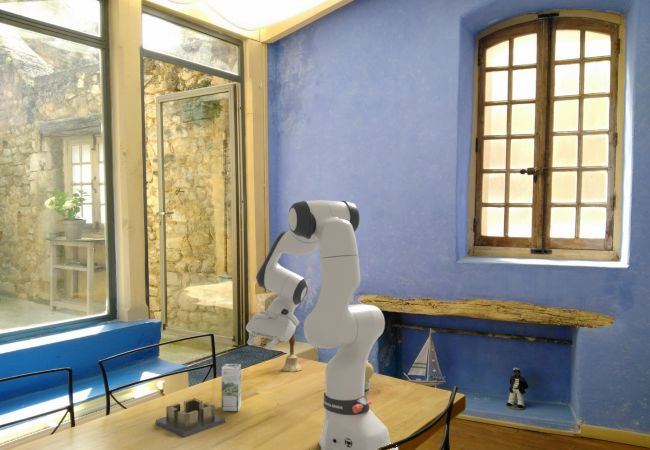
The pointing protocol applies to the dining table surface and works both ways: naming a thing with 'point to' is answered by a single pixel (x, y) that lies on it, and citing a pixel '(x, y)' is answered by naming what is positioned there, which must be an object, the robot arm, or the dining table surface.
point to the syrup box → (231, 387)
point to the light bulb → (368, 375)
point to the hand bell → (291, 358)
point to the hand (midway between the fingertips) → (258, 346)
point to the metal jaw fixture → (190, 417)
